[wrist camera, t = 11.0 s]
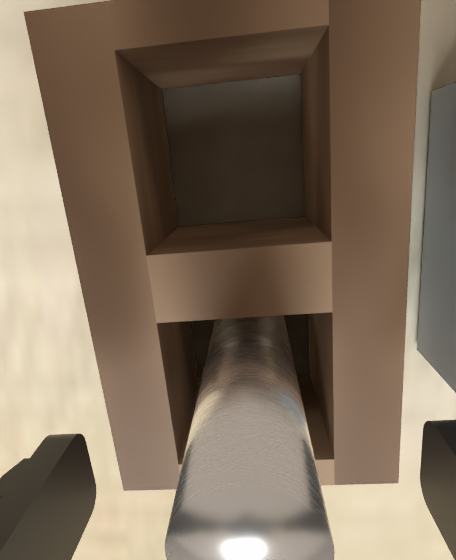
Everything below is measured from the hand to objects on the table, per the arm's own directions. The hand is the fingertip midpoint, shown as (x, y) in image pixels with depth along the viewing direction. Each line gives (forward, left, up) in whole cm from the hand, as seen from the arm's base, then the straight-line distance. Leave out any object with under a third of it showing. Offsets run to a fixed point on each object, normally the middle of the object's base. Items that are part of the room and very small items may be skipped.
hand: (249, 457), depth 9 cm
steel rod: (0, 0, -8) cm, 8 cm away
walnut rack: (0, -4, -8) cm, 8 cm away
